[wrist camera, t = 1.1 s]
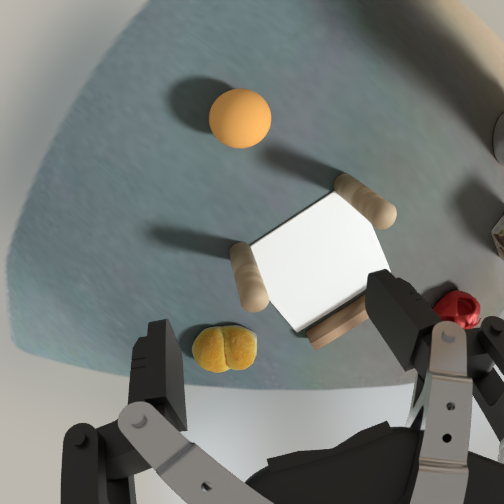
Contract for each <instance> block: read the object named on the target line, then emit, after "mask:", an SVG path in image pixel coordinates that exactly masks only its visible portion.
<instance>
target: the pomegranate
mask: <svg viewBox="0 0 504 504" xmlns="http://www.w3.org/2000/svg"><path fill="white" fill-rule="evenodd" d="M433 310H434V311H435V312H436V313H437V314H438V315H439V317H440V318H441V319H442V320H443V321H451V322H454V323H456V324H458V325H460V326H461V327H462V328H463V329H472V328H474V326H476V325H478V323H479V322H480V320H479V322H478V323H476V322H477V320H478V316H479V314H480V304H479V303H478V301H477V300H476V299H475V298H474V297H472V296H471V295H470V294H468V293H466V292H463V291H458V290H455V291H451V292H449V293H447V294H446V295H445V296H444V297H443V298H442V299H441V300H440V301H439V302H438V303H437V304H436V305H435V306H434V308H433ZM480 319H481V318H480Z"/></svg>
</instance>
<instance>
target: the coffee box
mask: <svg viewBox="0 0 504 504" xmlns="http://www.w3.org/2000/svg"><path fill="white" fill-rule="evenodd" d="M491 234H492V237H493V240H494V242H495V245H496V248H497V251H498V254H499V257H500V258H501V259H502V260H504V215H503V216H502V217H501V219H500V220H499V221H498V223H497V224H496V225H495V226H494V228H493V229H492V230H491Z"/></svg>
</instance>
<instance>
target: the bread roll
mask: <svg viewBox="0 0 504 504" xmlns="http://www.w3.org/2000/svg"><path fill="white" fill-rule="evenodd" d="M256 352H257V337H256V334H255V333H254V332H253V331H251V330H249V329H247V328H245V327H242V326H239V325H230V326H223V327H220V326H216V327H209V328H206V329H204V330H203V331H202V332H201V333H200V334H199V335H198V336H197V338H196V339H195V341H194V343H193V346H192V353H193V357H194V359H195V361H196V362H197V364H198V365H199V366H200V367H202V368H203V369H206V370H208V371H212V372H216V373H219V372H224V371H226V370H228V369H234V370H243V369H246V368H247V367H249V366H250V365H251V364H252V363H253V361H254V359H255V357H256V355H257V354H256Z"/></svg>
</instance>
